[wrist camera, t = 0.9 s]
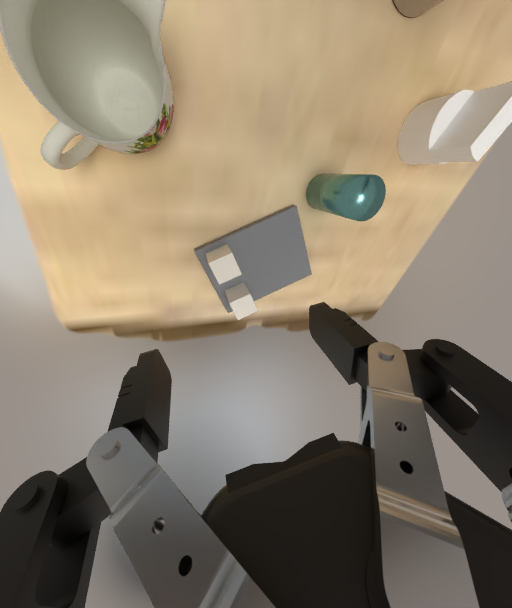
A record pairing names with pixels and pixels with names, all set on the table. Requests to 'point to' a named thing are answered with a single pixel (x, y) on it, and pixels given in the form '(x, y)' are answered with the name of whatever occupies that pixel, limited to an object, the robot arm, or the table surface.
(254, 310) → the cream cube
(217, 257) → the cream cube
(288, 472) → the robot arm
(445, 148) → the base with upright slab
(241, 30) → the table surface
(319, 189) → the teal glass cylinder
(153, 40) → the pitcher
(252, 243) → the slate board
